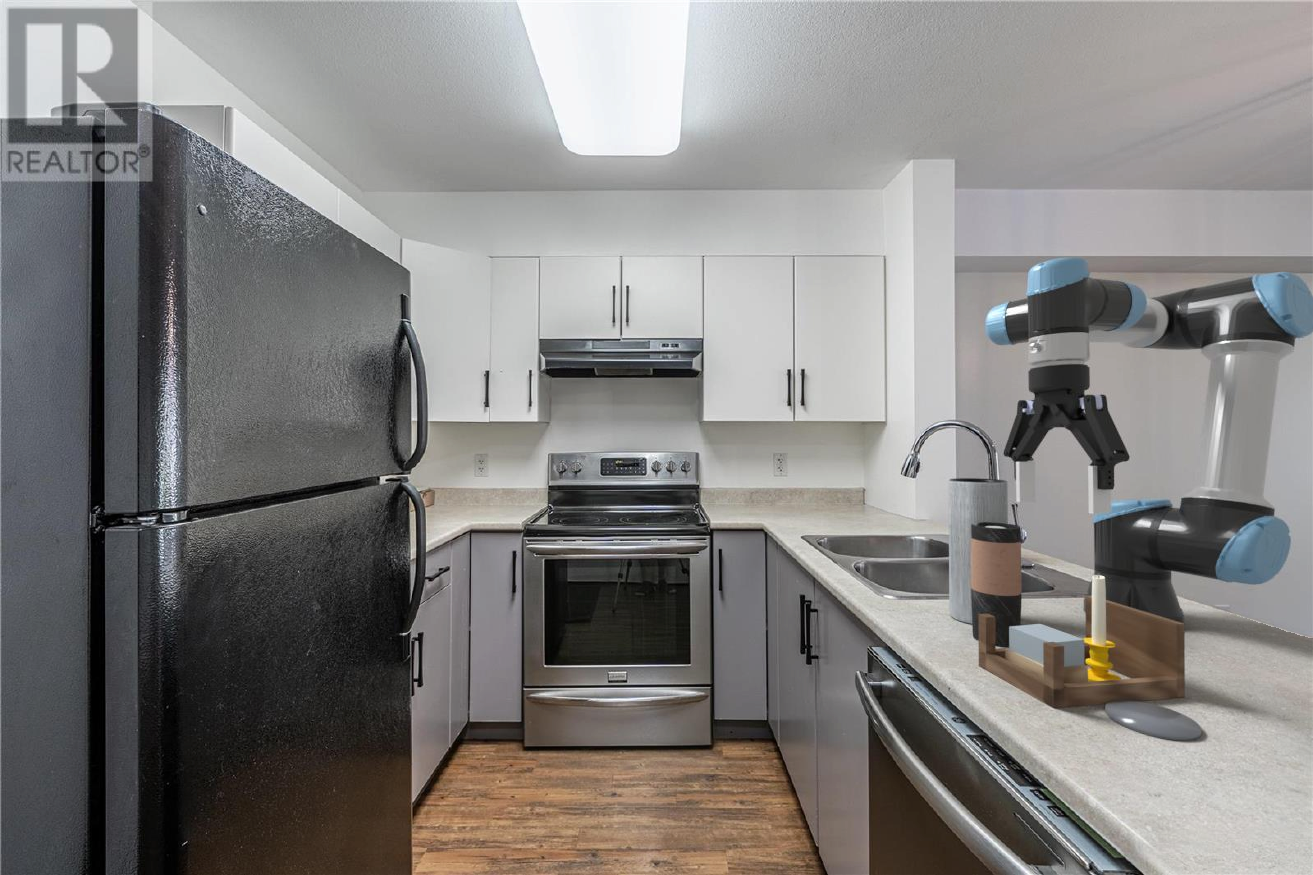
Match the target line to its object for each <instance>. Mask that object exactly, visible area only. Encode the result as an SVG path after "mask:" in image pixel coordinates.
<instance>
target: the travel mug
mask: <svg viewBox="0 0 1313 875" xmlns="http://www.w3.org/2000/svg"><path fill="white" fill-rule="evenodd" d="M1021 531H1022V530H1021V526H1019V525H1017V524H1012V523H1008V524H1006V523H994V522H980V523H978V524H977V525H973V524H971V604H972V624H971V627H972V637H973V638H974V639H975V640H977V641H978V642H979V614H990V615H992V616H994V617H995V644H996V647H1003V648H1009V627H1011V626H1021V625H1022V624H1021V623H1022V592H1023V591H1022V590H1023V589H1022V587H1023V584H1022V537H1021V536H1022V532H1021Z"/></svg>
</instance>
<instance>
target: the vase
mask: <svg viewBox="0 0 1313 875" xmlns="http://www.w3.org/2000/svg"><path fill="white" fill-rule="evenodd" d="M1008 486H1009V485H1008V481H1007V480H1004V479H999V478H998V479H995V478H979V477H975V478H974V477H973V478H972V477H971V478H970V477H968V478H967V477H965V478H964V477H962V478H961V477H960V478H959V477H958V478H950V479H949V480H948V592H949V593H948V601H949V602H948V606H949V607H948V610H949V616H950V617H951V618H953V619H954V620H956V621H959V622H962V623H965V624H970V625H972V604H971V524H973V525H977V524H978V523H980V522H994V523H1006V524H1009V520H1008V519H1009V518H1008V517H1009V516H1008V515H1009V514H1008V513H1009V512H1008V511H1009V510H1008V508H1009V506H1008V497H1009V496H1008V495H1009V494H1008V490H1009V489H1008V488H1009V487H1008Z"/></svg>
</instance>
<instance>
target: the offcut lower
mask: <svg viewBox="0 0 1313 875" xmlns="http://www.w3.org/2000/svg"><path fill="white" fill-rule="evenodd" d="M1004 648H1005V655H1006V660H1008V661H1010V662H1012V663H1013V664H1015V665H1017V666H1019V667H1021V668H1023V669H1025V670H1027V671H1029V672H1031V673H1033V674H1035V675H1037V676H1039V677H1041V678H1043V679H1044V671H1043V665H1042V664H1040V663H1037V662H1035V661H1033V660H1031V659H1028V658H1026V657H1024V656H1022V655H1019V654H1017V653H1015V652H1012V651H1010V650H1009V647H1004ZM1088 668H1089V665H1087V664H1086V665H1085V664H1084V665H1077V666H1069V667H1064V684H1065V683H1079V682H1088Z"/></svg>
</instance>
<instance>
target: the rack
mask: <svg viewBox="0 0 1313 875" xmlns="http://www.w3.org/2000/svg"><path fill="white" fill-rule="evenodd" d="M1085 596H1086V595H1085ZM1085 638H1092V596H1086V612H1085ZM1106 640H1107V641H1110V642H1113V643H1114V644H1116V647H1113V648H1109V650H1108V654H1109V657H1108V662H1110V663H1112V664H1113V668H1112V669H1110V670H1111V671H1113V672H1116V673H1119V674H1121V675H1123V676H1124V677H1128V678H1121V679H1120V680H1106V681H1093V682H1079V683H1065V684H1064V646H1063V645H1060V644H1058V643H1056V642H1043V671H1044V679H1043V678H1041V677H1039V676H1037V675H1035V674H1033V673H1031V672H1029V671H1027V670H1025V669H1023V668H1021V667H1019V666H1017V665H1015V664H1013V663H1012V662H1010V661H1008V660H1006V655H1005V648H1006V647H1003V648H1002V647H1000V648H996V647H997V646H996V644H995V617H994V616H992V615H990V614H979V641H978V666H979V667H980V668H982V669H983V670H985V671H987V672H989V673H991V674H993V675H994V676H996V677H998V678H999V679H1001V680H1003V681H1005V682H1006V683H1008V684H1010V685H1012V686H1013V687H1016V688H1018V689H1019V690H1021V691H1023V692H1024V693H1026V694H1028V695H1030V696H1032V697H1033V698H1035V699H1037V700H1039V701H1040V702H1042V703H1044V704H1046V705H1048V706H1049V707H1051V708H1052V709H1057V708H1070V707H1082V706H1094V705H1106V704H1107V703H1108V702H1111V701H1116V700H1130V701H1139V702H1145V701H1154V700H1155V701H1157V700H1158V701H1159V700H1169V699H1170V700H1171V699H1182V698H1185V697H1186V696H1185V695H1186V693H1185V692H1186V690H1185V689H1186V688H1185V687H1186V686H1185V685H1186V683H1185V682H1186V681H1185V680H1186V678H1185V674H1186V673H1185V671H1186V669H1185V667H1186V666H1185V665H1186V664H1185V658H1186V657H1185V654H1186V653H1185V650H1186V649H1185V642H1186V641H1185V622H1184V623H1180V622H1177V621H1174V620H1170V619H1167V618H1164V617H1161V616H1157V615H1154V614H1151V613H1148V612H1144V611H1141V610H1138V609H1134V608H1131V607H1128V606H1125V605H1121V604H1118V603H1115V602H1111V601H1108V600H1106ZM1089 651H1090V645H1089V644H1087V643H1085V642H1084V663H1086V659H1088V658H1090V652H1089Z"/></svg>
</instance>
